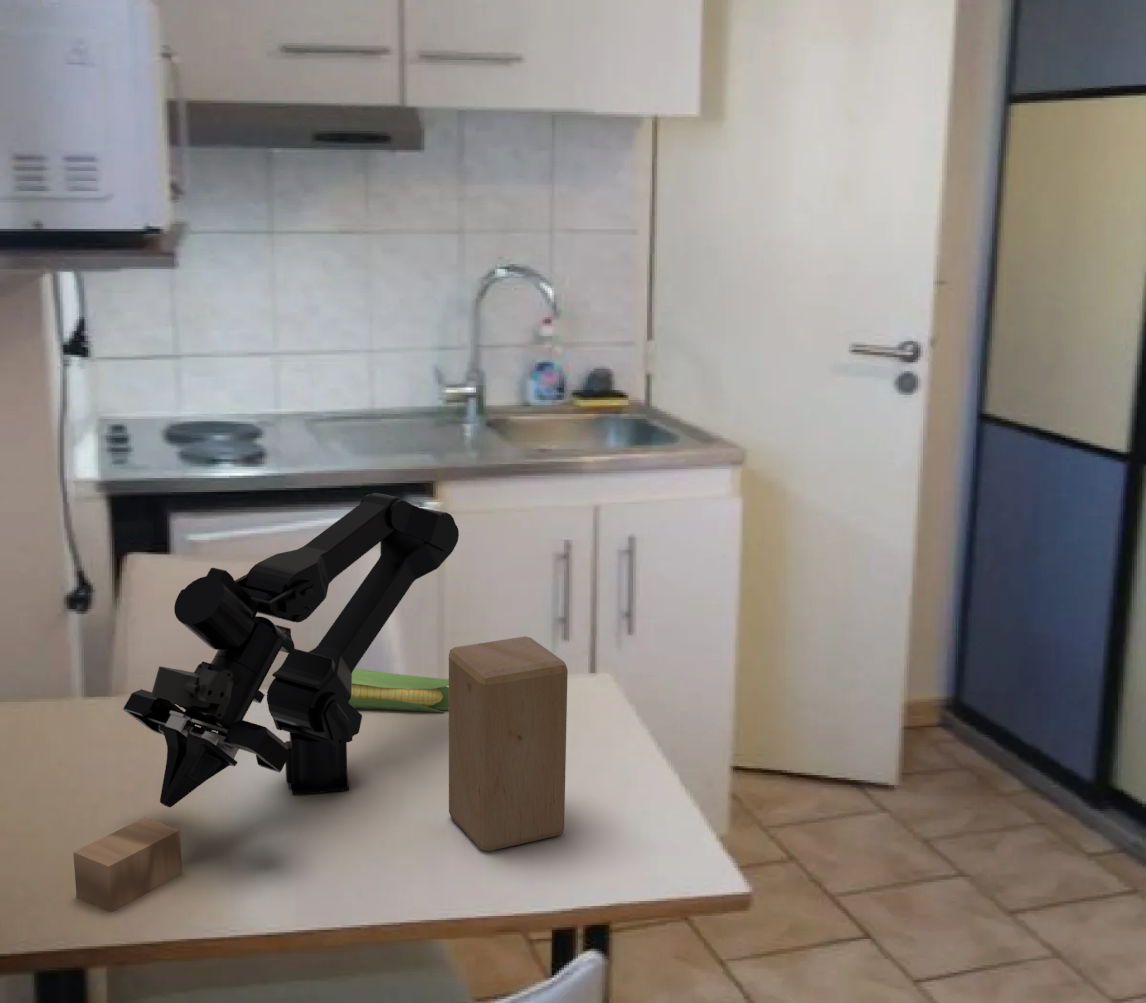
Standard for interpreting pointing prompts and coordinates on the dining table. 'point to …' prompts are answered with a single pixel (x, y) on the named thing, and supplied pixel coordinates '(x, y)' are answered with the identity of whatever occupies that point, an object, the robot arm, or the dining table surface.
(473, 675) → the wooden block
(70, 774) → the dining table surface
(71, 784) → the dining table surface
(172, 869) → the walnut block
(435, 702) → the edible corn
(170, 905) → the dining table surface
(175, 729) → the robot arm
